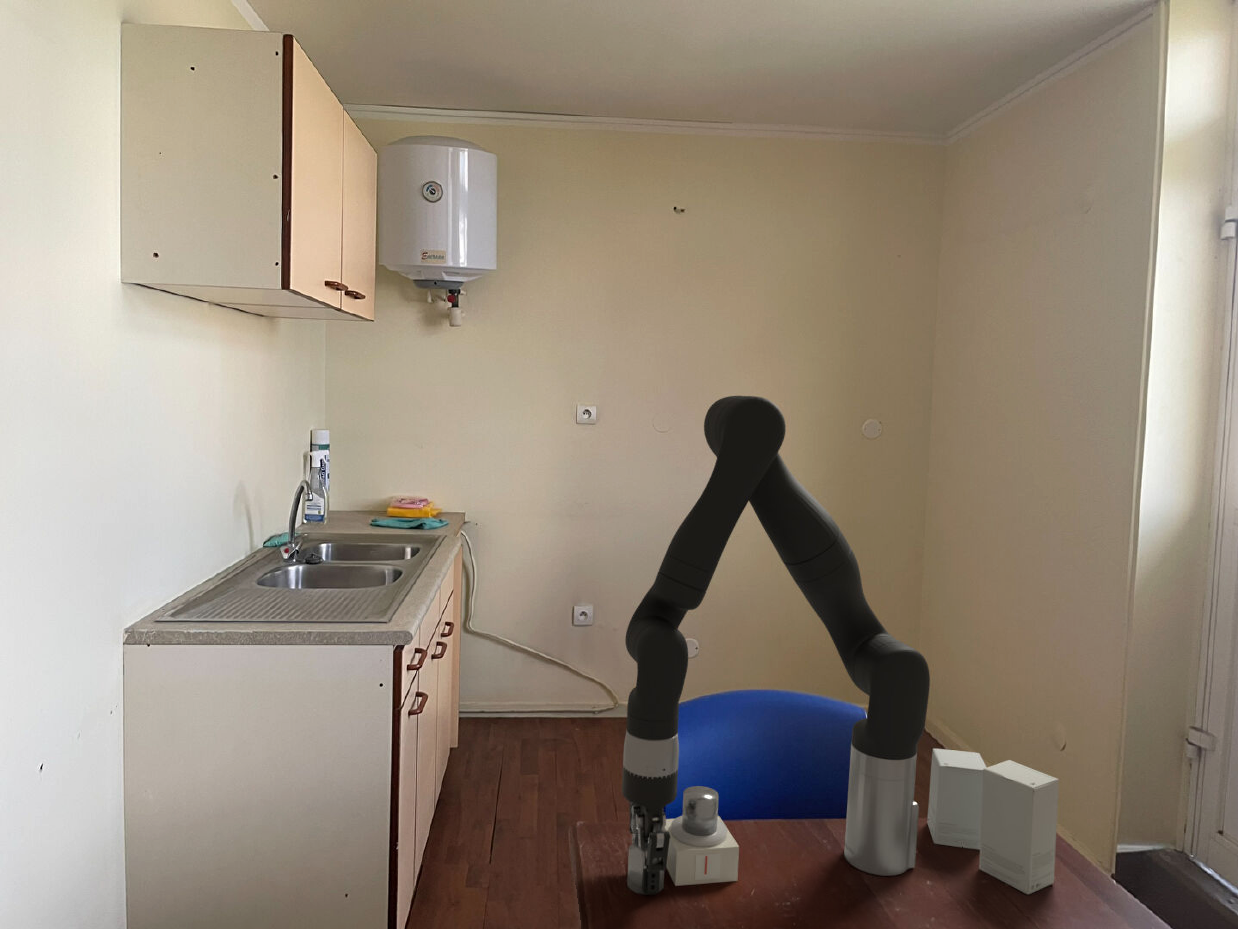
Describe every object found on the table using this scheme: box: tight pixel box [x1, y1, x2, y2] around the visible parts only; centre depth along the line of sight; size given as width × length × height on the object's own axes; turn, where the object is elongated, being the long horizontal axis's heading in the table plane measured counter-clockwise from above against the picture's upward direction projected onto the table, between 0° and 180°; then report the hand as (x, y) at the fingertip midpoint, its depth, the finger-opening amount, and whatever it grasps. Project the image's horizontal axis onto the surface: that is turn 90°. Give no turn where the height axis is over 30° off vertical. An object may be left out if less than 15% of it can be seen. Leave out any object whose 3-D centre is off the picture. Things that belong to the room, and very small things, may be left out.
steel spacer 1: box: [627, 841, 665, 896], centre depth 123 cm, size 5×5×5 cm
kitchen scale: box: [664, 815, 740, 887], centre depth 128 cm, size 9×9×6 cm
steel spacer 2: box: [681, 785, 719, 836], centre depth 128 cm, size 5×5×5 cm
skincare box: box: [978, 759, 1060, 895], centre depth 128 cm, size 8×7×16 cm
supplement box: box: [926, 748, 987, 851], centre depth 140 cm, size 7×7×13 cm
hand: (645, 881), depth 123 cm, fingers closed on steel spacer 1, 5 cm apart
